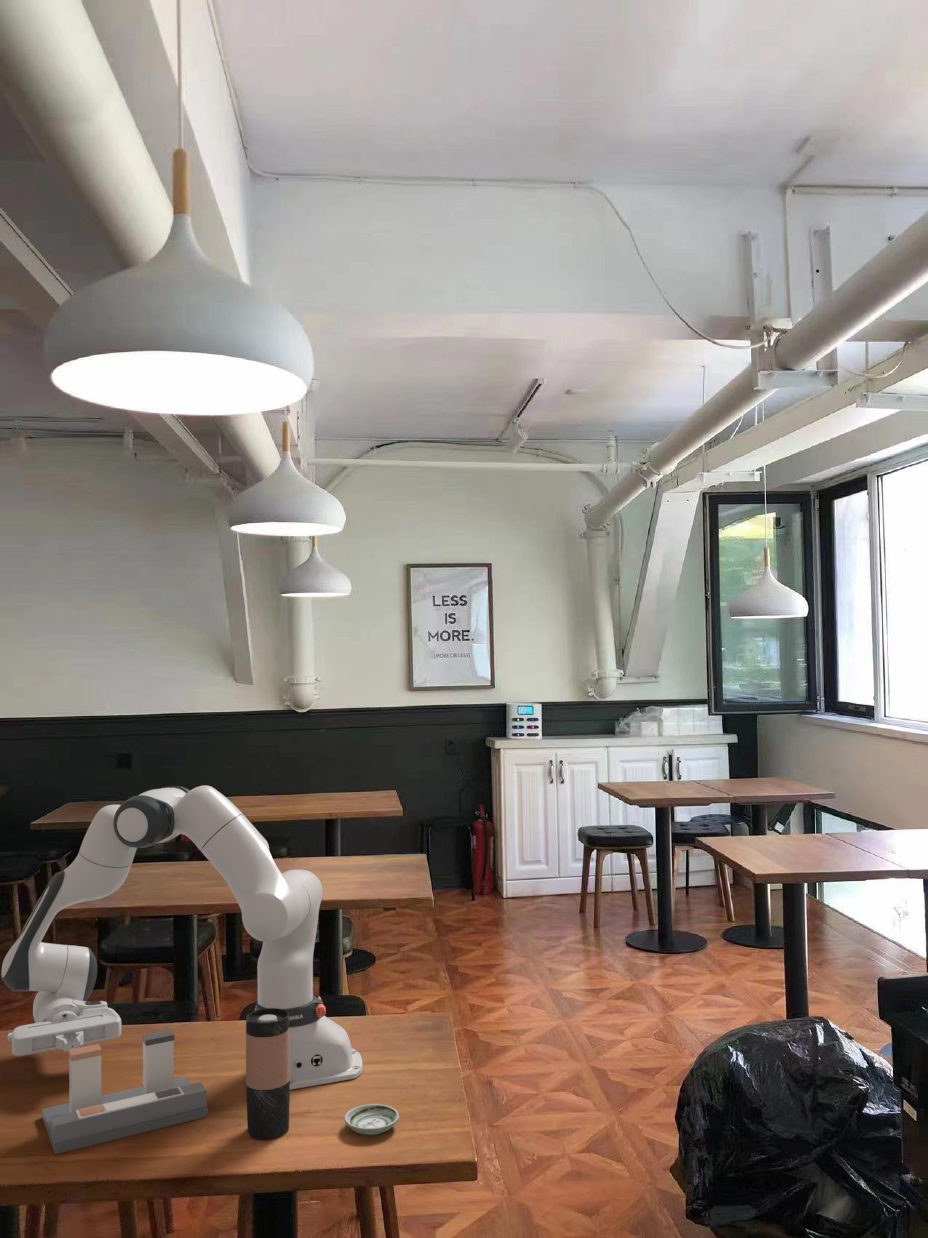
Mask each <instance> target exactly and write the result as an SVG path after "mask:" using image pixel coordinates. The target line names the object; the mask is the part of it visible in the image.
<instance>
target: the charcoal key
mask: <svg viewBox="0 0 928 1238" xmlns="http://www.w3.org/2000/svg"><path fill="white" fill-rule="evenodd" d="M141 1039H142V1040H141V1041H142V1087H143V1095H145V1094H149V1093H153V1092H158V1091H162V1090H166V1089H171V1088H174V1079H175V1060H174V1059H175V1052H174V1051H175V1048H174V1047H175V1042H174V1041H175V1034H174V1032H173V1031H172V1030H171V1029H167V1030H161V1031H156V1032H152V1033H147V1034H142V1035H141Z"/></svg>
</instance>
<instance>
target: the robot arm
mask: <svg viewBox="0 0 928 1238" xmlns="http://www.w3.org/2000/svg"><path fill="white" fill-rule="evenodd" d="M179 835H183V836H186V837H187V838H188V839H190V841H192V843H193V844H194V845H195V846H196V848H197V849H199V850H200V852H201V853H202V854H203V855H204V857H205V858H206V859H207V860H208V861H209V862H210V864H211V865H212V866H213V867H214V868H215V869H216V871H217V872H218V873H219V874H220V875H221V876H222V878H223V879H224V881H225V882H226V884H227V886H228V887H229V889H230V890H231V893H232V894H233V896H234V898H235V900H236V902H237V904H238V907H239V909H240V911H241V920H242V925H243V926H244V927H243V928H244V929H245V931H246V932H247V934H248V935H250V936H251V937H252V938H253V939H255V940H257V941H261V942H262V947H261V950H260V954H259V956H258V959H257V964H256V965H257V966H256V968H257V969H256V970H257V971H256V972H257V999H256V1001H255V1008H254V1011H257V1010H261V1009H268V1008H277V1009H282V1010H285V1011H287V1012H288V1014H289V1053H290V1091H291V1090H295V1089H297V1090H298V1089H301V1088H306V1087H307V1088H308V1087H313V1086H319V1085H320V1086H321V1085H325V1084H331V1083H336V1082H341V1081H347V1080H354V1079H357V1078H358V1077H359V1076H360V1075H361V1073H362V1072H363V1069H364V1065H363V1058H362V1056H361V1054H360V1052H359V1051H358V1050H356V1049H354V1048H352V1044H351V1040H350V1038H349V1035H348V1033H347V1031H346V1030H345V1029H344V1027H342V1026H341V1025H339V1024H338V1023H336V1022H335V1021H333V1020H332V1019H330V1018H328V1017H327V1016H326V1012H327V1010H326V1006H325V1005H324V1002H323V1000H322V998H321V997H320V996H319V995H318V996H316V995H314V981H313V979H314V977H313V976H314V971H313V970H314V966H313V965H314V963H313V962H314V951H315V944H316V937H317V931H318V922H319V914H320V913H319V912H320V906H321V903H322V901H323V895H324V893H323V892H324V891H323V890H324V889H323V886H322V883H321V881H320V879H319V877H318V876H317V875H316V874H314V873H313V872H311V871H309V870H307V869H299V868H297V869H290V870H287V871H284V872H281V870H280V869H279V867H278V865H277V864H276V862H275V860H274V859H273V856H272V854H271V851H270V846H269V843H268V841H267V840H266V838H265V837H264V836H263V835H262V834H261V833H260V831H259V830H258V829H257V828H256V827H255V825H253V823H252V822H250V820H249V819H248V818H247V817H246V816H245V814H243V813H242V811H241V810H240V809H239V808H238V807H237V806H236V805H235V804H234V803H233V802H232V801H230V800H229V799H228V798H227V797H226V796H225V795H224V794H222V793H221V792H220V791H218V790H217V789H216V788H215V787H213V786H210V785H207V784H206V785H200V786H196V787H194V788H192V789H191V790H190V789H189V788H186V787H184V786H178V785H168V786H165V787H161V788H154V789H150V790H146V791H144V792H142V793H140V794H138V795H133V796H131V797H129V798H128V799H126V800H125V801H124V802H123V803H121V804H109V805H105V806H104V807H101V808H100V809H99V810H98V811H97V812H96V813H95V816H94V817H93V819H92V821H91V823H90V825H89V826H88V828H87V830H86V833H85V835H84V837H83V840H82V843H81V845H80V848H79V851H78V854H77V856H76V857H75V859H74V860H73V861H72V862H71V864H69V865H68V866H67V867H66V868H65V869H63V870H60V871H58V872H55V874H54V875H53V876H52V877H51V879H50V880H49V881H48V883H47V885H46V886H45V888H44V889H43V891H42V893H41V895H40V896H39V898H38V900H37V902H36V904H35V905H34V907H33V909H32V910H31V913H30V914H29V916H28V918H27V920H26V921H25V924H24V926H22V927H23V928H22V929H21V931H20V933H19V935H18V936H17V937H16V939H15V940H14V942H13V943H12V945H11V947H10V949H9V950H8V952H7V953H6V955H5V957H4V958H3V961H2V965H1V973H0V978H1V980H2V981H3V983H4V984H5V986H6V987H7V988H8V989H9V990H11V991H12V992H37V993H36V995H35V996H34V1000H33V1004H32V1006H33V1007H32V1016H33V1019H34V1023H29V1024H23V1025H19V1026H17V1027H15V1028H14V1029H13V1031H12V1032H9V1033H7V1040H8V1042H10V1043H11V1054H12V1056H14V1057H23V1056H28V1055H33V1054H38V1053H39V1054H40V1053H44V1052H48V1051H50V1052H51V1051H55V1050H63V1052H64V1053H67V1052H69V1050H70V1049H75V1048H80V1047H82V1045H87V1044H92V1043H98V1042H103V1041H107V1040H108V1041H109V1040H115V1039H118V1038H119V1037H121V1035H122V1018H121V1017H120V1015H119V1014H118V1013H117V1012H116V1010H115V1009H113V1008H111V1007H108V1003H107V1001H106V1000H105V1001H104V1000H96V1001H95V1000H94V1001H93V1000H89V1001H88V999H89V997H90V996H91V995H92V993H93V991H94V988H95V984H96V981H97V976H98V963H97V961H98V960H97V959H96V956H95V954H94V952H93V951H92V950H91V948H90V947H88V946H87V947H86V946H79V945H70V944H60V943H58V944H57V943H51V942H50V943H48V942H42V940H43V939H44V936H45V935H46V933H47V931H48V929H49V927H50V925H51V924H52V922H53V920H54V918H55V917H56V915H58V913H59V912H60V911H62V910H64V909H65V908H68V907H70V906H72V905H76V904H79V903H86V902H89V901H95V900H100V899H103V898H105V897H108V896H111V894H114V893H115V892H117V891H118V890H119V889H120V888H121V887H122V886H123V885H124V883H125V881H126V880H127V877H128V875H129V873H130V870H131V867H132V864H133V861H134V858H135V855H136V851H137V850H138V849H141V848H142V849H143V848H149V847H152V846H154V845H156V844H160V843H165V842H168V841H170V840H173V839H175V838H177V837H178V836H179Z"/></svg>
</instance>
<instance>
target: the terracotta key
mask: <svg viewBox="0 0 928 1238" xmlns="http://www.w3.org/2000/svg"><path fill="white" fill-rule="evenodd" d="M102 1055H103V1049H102V1047H101V1046H100V1043H96V1044H91V1045H86V1046H81V1047H80V1048H75V1049H70V1050H69V1051H68V1057H69V1058H68V1059H69V1061H68V1062H69V1067H68V1068H69V1070H68V1071H69V1072H68V1073H69V1074H68V1076H69V1080H68V1081H69V1083H68V1085H69V1093H68V1094H69V1098H68V1099H69V1101H68V1103H69V1112H74V1111H76V1110H79V1109H84V1108H88V1107H92V1106H97V1105H101V1096H102Z"/></svg>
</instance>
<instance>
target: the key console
mask: <svg viewBox="0 0 928 1238" xmlns="http://www.w3.org/2000/svg"><path fill="white" fill-rule="evenodd" d="M207 1091H208V1090H207V1088H206V1087H205V1086H204V1085H203V1083H202V1082H196V1083H190V1081H189V1080H188V1078H187V1077H186V1076H183V1077H179V1078H174V1088H171V1089H166V1090H162V1091H158V1092H153V1093H149V1094H145V1095H143V1086H138V1087H135V1088H129V1089H126V1090H125V1089H124V1090H121V1091H116V1092H113V1093H108V1094H104V1095H101V1105H97V1106H92V1107H88V1108H84V1109H79V1110H76V1111H74V1112H69V1102H68V1103H64V1104H58V1105H54V1106H50V1107H45V1108H43V1109H42V1111H41V1113H42V1116H41V1117H42V1121H43V1123H44V1126H45V1129H46V1132H47V1135H48V1139H49V1141H50V1145H51V1148H52V1150H53V1154H54V1155H58V1154H62V1153H66V1152H70V1151H74V1150H78V1149H82V1148H86V1147H90V1146H95V1145H98V1144H102V1143H106V1142H110V1141H115V1140H119V1139H122V1138H127V1137H130V1136H135V1135H139V1134H143V1133H147V1132H150V1131H154V1130H159V1129H163V1128H166V1127H171V1126H175V1125H179V1124H183V1123H186V1122H190V1121H195V1120H198V1119H203V1118H207V1117H208V1116H209V1115H208V1114H209V1113H208V1112H209V1109H208V1105H207V1104H208V1103H207V1102H208V1100H207V1099H208V1092H207Z"/></svg>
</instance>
